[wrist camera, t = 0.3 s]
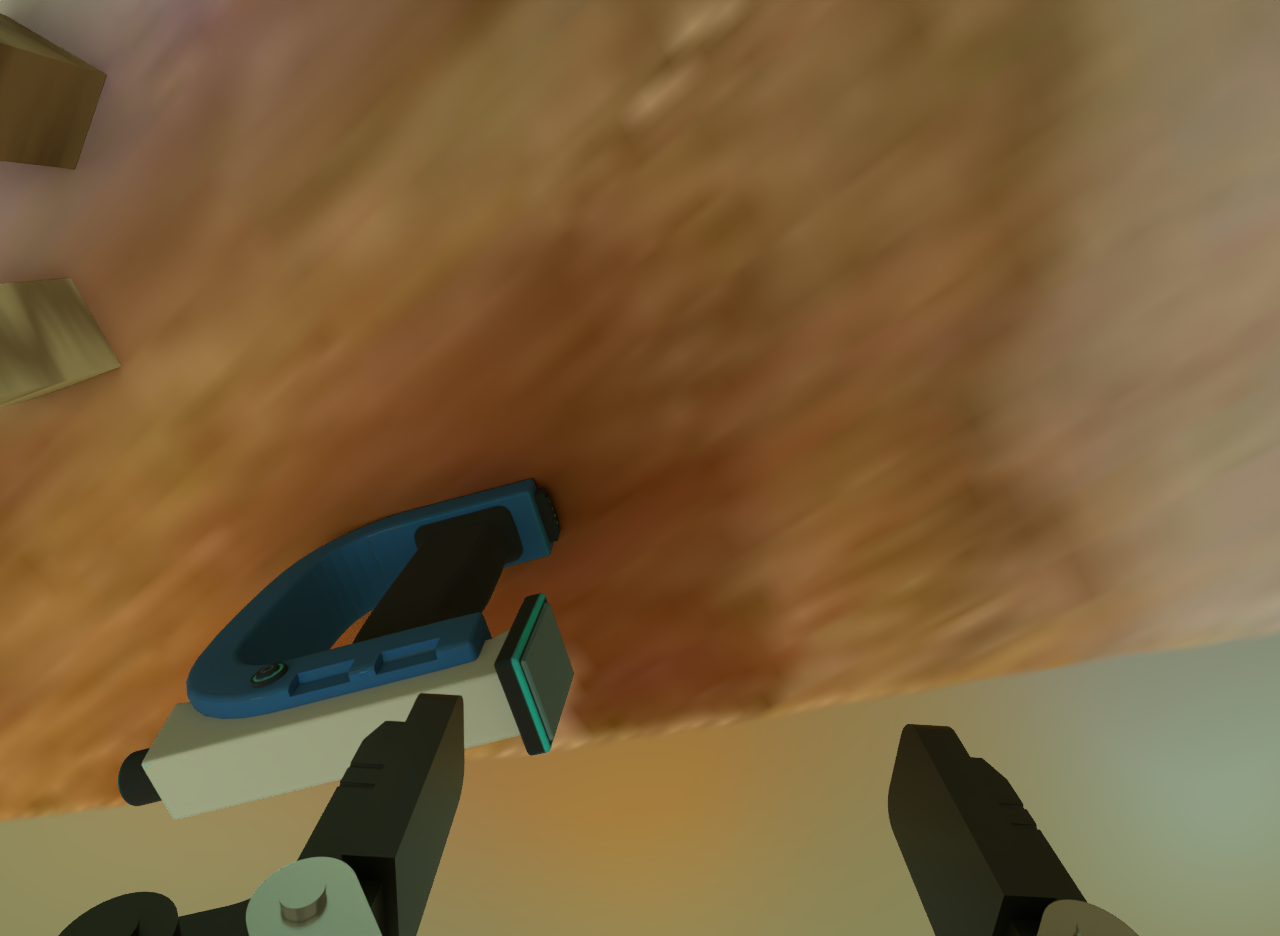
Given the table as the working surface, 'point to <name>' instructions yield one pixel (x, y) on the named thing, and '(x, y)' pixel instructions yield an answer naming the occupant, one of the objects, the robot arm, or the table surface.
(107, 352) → the beech block
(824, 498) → the table surface
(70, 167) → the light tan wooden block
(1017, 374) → the table surface
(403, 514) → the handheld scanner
